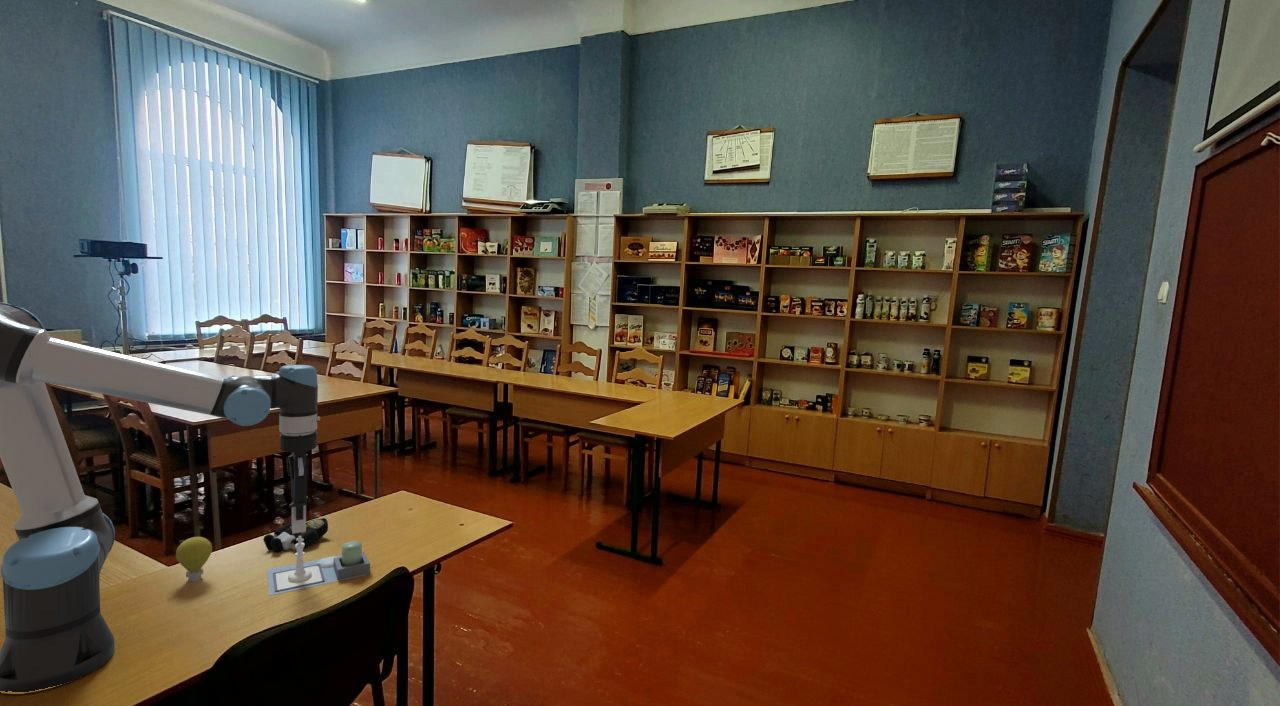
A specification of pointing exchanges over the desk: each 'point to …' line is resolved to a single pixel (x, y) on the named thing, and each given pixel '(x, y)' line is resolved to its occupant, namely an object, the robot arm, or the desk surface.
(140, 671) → the desk surface
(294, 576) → the chess piece
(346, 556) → the button
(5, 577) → the robot arm
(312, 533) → the toy
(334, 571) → the board
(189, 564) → the light bulb
